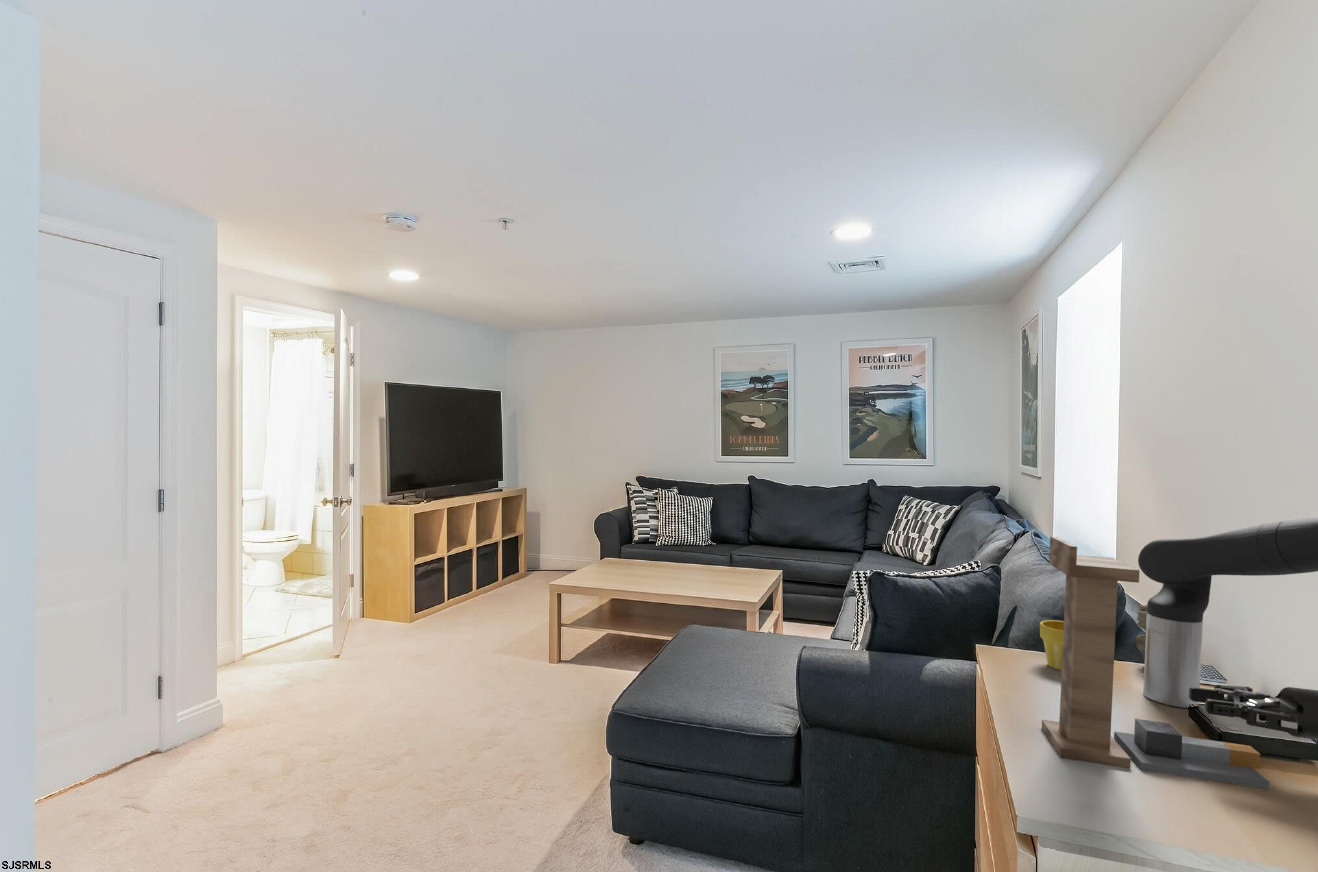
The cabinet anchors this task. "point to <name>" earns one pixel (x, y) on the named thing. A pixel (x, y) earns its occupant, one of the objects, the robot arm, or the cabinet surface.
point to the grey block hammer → (1191, 746)
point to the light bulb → (1142, 623)
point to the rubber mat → (1190, 766)
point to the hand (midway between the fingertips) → (1198, 700)
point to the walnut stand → (1087, 656)
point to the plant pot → (1053, 641)
